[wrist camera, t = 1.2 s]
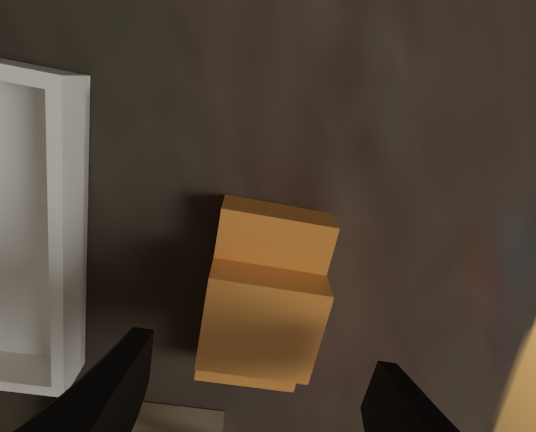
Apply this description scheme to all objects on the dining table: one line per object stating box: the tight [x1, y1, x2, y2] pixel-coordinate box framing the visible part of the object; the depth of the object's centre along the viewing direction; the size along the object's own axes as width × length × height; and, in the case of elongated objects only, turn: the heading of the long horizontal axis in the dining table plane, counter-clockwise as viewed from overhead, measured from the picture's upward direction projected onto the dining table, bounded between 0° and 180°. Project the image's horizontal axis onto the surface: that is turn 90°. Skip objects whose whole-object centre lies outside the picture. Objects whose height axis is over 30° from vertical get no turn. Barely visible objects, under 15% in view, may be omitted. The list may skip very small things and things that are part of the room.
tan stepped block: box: [194, 194, 340, 392], centre depth 15 cm, size 8×4×4 cm, turn 169°
